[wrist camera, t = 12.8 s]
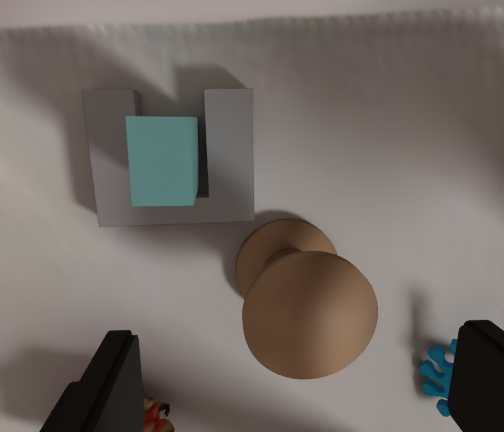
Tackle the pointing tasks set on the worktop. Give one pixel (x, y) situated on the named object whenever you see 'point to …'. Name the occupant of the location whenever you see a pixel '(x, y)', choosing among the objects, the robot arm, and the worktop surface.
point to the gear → (438, 375)
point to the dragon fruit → (156, 416)
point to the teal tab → (163, 160)
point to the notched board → (218, 159)
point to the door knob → (302, 301)
